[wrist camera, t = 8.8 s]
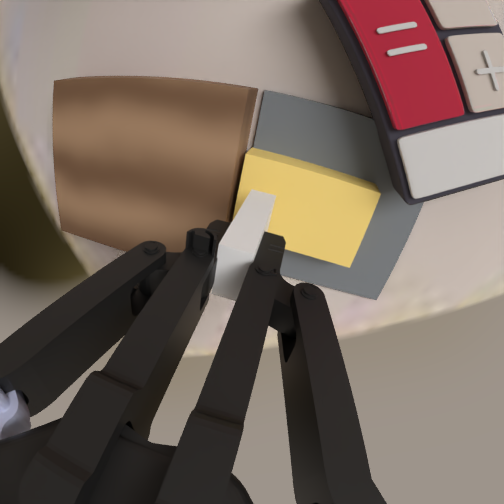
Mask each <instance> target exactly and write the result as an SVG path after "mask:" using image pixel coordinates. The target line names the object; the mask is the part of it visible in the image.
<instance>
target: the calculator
mask: <svg viewBox="0 0 504 504" xmlns="http://www.w3.org/2000/svg"><path fill="white" fill-rule="evenodd" d="M319 1H320V2H321V4H322V6H323V8H324V9H325V11H326V13H327V15H328V17H329V19H330V20H331V22H332V24H333V26H334V28H335V30H336V32H337V34H338V36H339V38H340V40H341V42H342V44H343V46H344V48H345V51H346V53H347V55H348V57H349V59H350V61H351V64H352V66H353V68H354V70H355V73H356V75H357V77H358V80H359V82H360V85H361V87H362V90H363V92H364V95H365V97H366V100H367V102H368V105H369V108H370V111H371V113H372V116H373V119H374V122H375V125H376V128H377V131H378V136H379V140H380V144H381V147H382V150H383V153H384V157H385V160H386V164H387V167H388V170H389V174H390V178H391V181H392V185H393V187H394V189H395V190H396V191H397V193H398V194H399V195H400V196H401V198H402V199H403V200H404V201H405V202H406V203H407V204H408V205H414V204H418V203H422V202H425V201H429V200H432V199H436V198H439V197H443V196H446V195H450V194H453V193H457V192H460V191H464V190H467V189H471V188H474V187H478V186H481V185H485V184H488V183H492V182H495V181H499V180H502V179H504V36H503V34H502V31H501V29H500V27H499V24H498V22H497V20H496V18H495V16H494V13H493V11H492V9H491V7H490V5H489V3H488V1H487V0H319Z"/></svg>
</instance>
